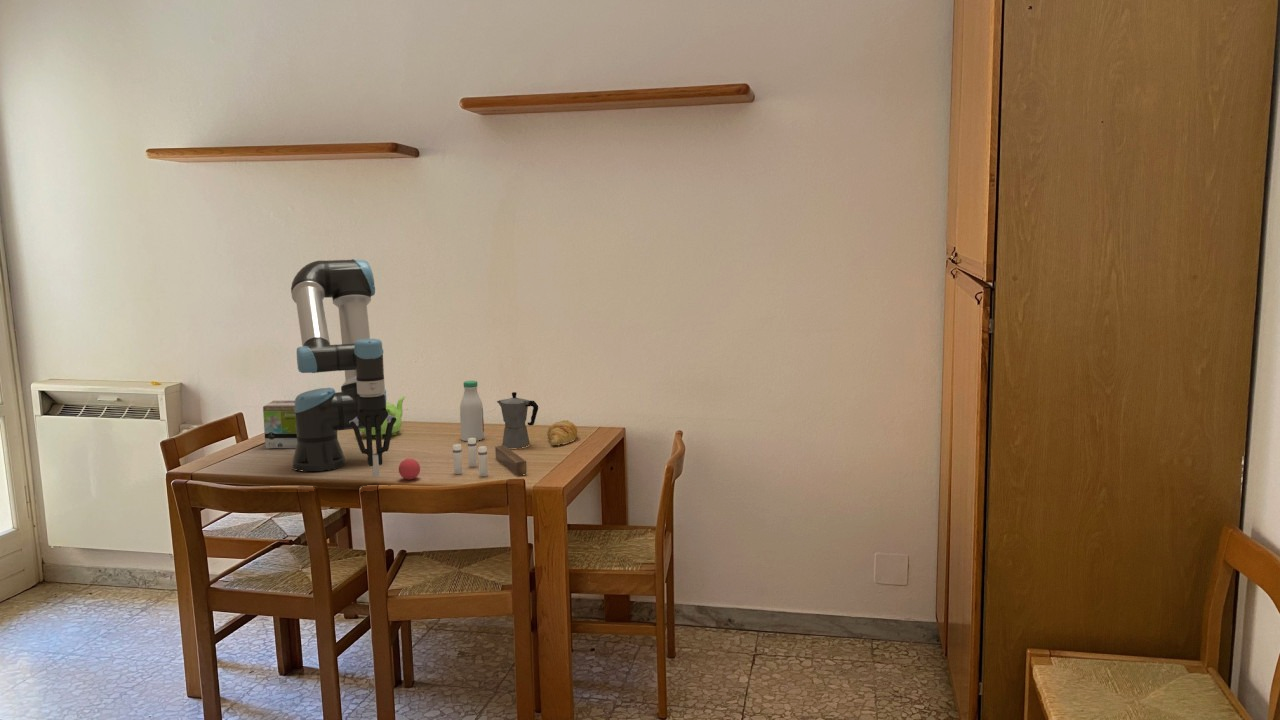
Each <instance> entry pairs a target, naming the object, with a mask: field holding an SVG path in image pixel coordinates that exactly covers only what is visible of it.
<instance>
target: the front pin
mask: <svg viewBox="0 0 1280 720" xmlns="http://www.w3.org/2000/svg"><path fill="white" fill-rule="evenodd" d="M462 452H463V450H462V444H461V443H455V444H452V455H453V457H452V459H453V460H452V461H453V474H454V475H462V474H463V459H462Z"/></svg>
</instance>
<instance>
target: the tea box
mask: <svg viewBox="0 0 1280 720" xmlns="http://www.w3.org/2000/svg"><path fill="white" fill-rule="evenodd" d="M294 410H295V400H272V401H271V402H269V403H267V404H266V405H263V406H262V412H263V413H262V414H263V429H264V431H263V432H264V443H265V449H267V450H268V449H296V446H297V430H296V413H295V412H294Z"/></svg>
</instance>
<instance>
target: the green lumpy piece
mask: <svg viewBox="0 0 1280 720" xmlns="http://www.w3.org/2000/svg"><path fill="white" fill-rule="evenodd" d="M405 398H406V396H402V397H400V398H399V399H398V400H397V402H396V403H397V404H396V405H395V403H392V402H391V403H390V402H386V410H387V412H388V414H389V415H391V416H394V417H395V418H396V422H395V423H394V425H393V429H392V434H391V435H396V436H397V435H398V433H397V432H398V431H400V429H401V427H402V426H403V422H402V416H403V411H404V410H403V403H404V400H405ZM387 424H388V422H387V418H386V419H385V421H384V423H383V424H382V425H381V438H382V439H383V438H384V437H383V435H385V433H386V428H387ZM359 431H360V433H362V434H364V437H365V436H366V429H365V428H360V429H359ZM372 436H374V439H375V438H376V435H375V427H372Z"/></svg>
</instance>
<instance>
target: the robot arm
mask: <svg viewBox="0 0 1280 720" xmlns="http://www.w3.org/2000/svg"><path fill="white" fill-rule="evenodd" d="M290 290H291V291H290V292H291V299H292V301H294V303H295V304H296V309H297V317H298V325H299V331H300V338H301V346H298V347H297V348H296V364H297V370H298V372H299V373H301V374H309V373H310V374H316V373H318V374H319V373H328V372H340V371H341V372H342V371H344V378H345V381H344V382H343V384H342V385H341V386H340V391H339V392H336V390H335V388H333V387H321V388H317V389H315V388H314V389H312V390H311V389H310V390H307V391H304V392H301V393H300V394H298V395H297V396H296V397H295V398H294V399H295V400H294V401H295V410H294V412H295V413H296V430H297V446H296V448H295V451H294V454H293V459H292V461H291V463H292V469H293V468H294V469H297V470H303V471H320V472H323V471H322V470H328V471H330V470H329V469H333V470H335V469H334V468H337V469H339V468H338V467H340V468H342V467H343V465H344V464H345V465H346V458H345V454H344V451H343V450H342V447H341V445H340V442H339V439H338V431H346V430H348V431H349V430H353V431H354V432H353V433H354V435H355V439H356V442H357V444H358V447H359V451H360V452H361V454H363V455H367V465H368V466H369V467H371V471H372V474H371V475H372V477H373V479H377V478H380V466H383V453H385V452H388V451H389V449H390V443H391V439H392V436H391V434H392V429H393V425H394V423H395V422H396V418H395V417H394V416H391V415H389V414H388V412H387V410H386V403H387V390H386V387H385V376H384V375H385V374H384V373H385V371H384V369H385V368H384V348H383V342H382V340H380V338H379V339H378V338H371V337H370V336H371V335H370V326H369V315H368V305H369V304H370V303H371V301H372V297H374V296H375V293H376V285H375V278H374V273H373V271H372V268H371V266H370V263H369V262H368V261H367V260H365V259H354V258H351V259H337V260H335V259H333V260H331V259H329V260H322V259H321V260H314V261H312V262H310V263H308V264H306V265H305V266H303V267H302V268H301V269H300V270H299V271H298V272H297V273H296V275H295V276H294V277H293V280H292V282H291V287H290ZM325 298H329V299H330V298H331V299H332V304H333V305H335V306H336V307H337V308H338V316H339V317H338V318H339V325H340V326H339V327H340V337H341V338H340V339H341V344H331V342H330V337H329V331H328V324H327V320H326V319H327V318H326V312H325V308H324V299H325ZM386 418H387V422H388V424H387V428H386V433H385V434H384V437H383V438H384V439H383V444H382V439H381V425H382V424H383V423H384V421H385V419H386ZM372 427H375V435H374V436H376V439H375V450H376V451H375V452H373V451H374V450H373V435H372ZM360 428H365V429H366V434H365V435H366V437H365V440H366V442H365V443H366V448H365V444H364V441H363V438H362V434H361V431H359V429H360ZM345 465H344V466H345ZM341 466H342V467H341ZM294 469H293V470H294Z"/></svg>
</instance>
